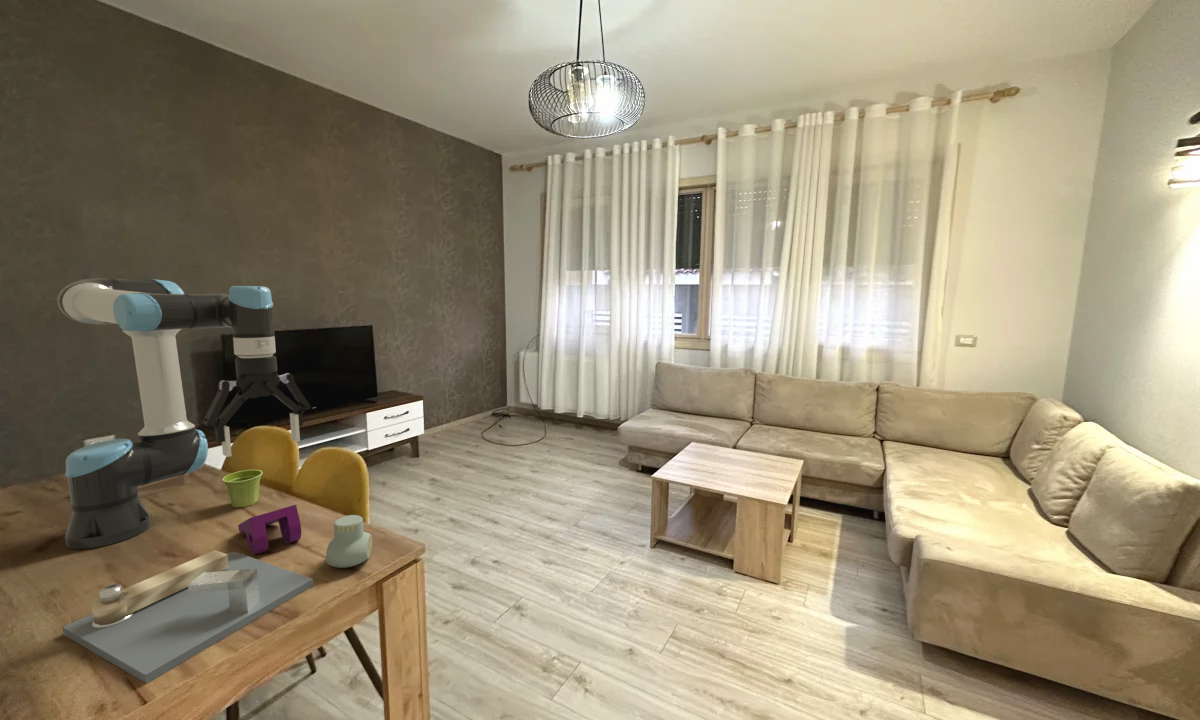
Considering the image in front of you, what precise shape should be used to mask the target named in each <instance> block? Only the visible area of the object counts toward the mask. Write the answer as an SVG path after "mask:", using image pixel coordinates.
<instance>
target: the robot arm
mask: <svg viewBox="0 0 1200 720" xmlns="http://www.w3.org/2000/svg"><path fill="white" fill-rule="evenodd" d="M272 299H273V298H272V292H271V289H270V288H269V287H267V286H263V285H262V286H261V285H259V286H257V285H255V286H254V285H232V286H231V287H229V291H228V293H200V294H199V293H185V292H184V291H183V289H182V288H181V287H180V286H179V285H178V284H177V283H176V282H173V281H170V280H162V279H155V278H150V279H147V278H146V279H145V278H139V279H138V278H105V277H104V278H103V277H102V278H101V277H97V278H87V279H81V280H77V281H74V282H72V283H70V284H68V285H66V286H64V288H61V290H60V292H58V295H57V306H58V308H59V310H60V311H61V313H62V314H63V315H64V316H66V317H67V318H69V319H70V320H73V321H76V322H79V323H82V324H88V325H89V324H91V325H104V326H105V325H109V326H110V325H116V326H117V325H118V326H119V327H120V328H121V330H122V333H124V334H126V335H128V336H129V337H130V338H131V342H132V348H133V355H134V361H135V368H136V376H137V381H138V382H137V383H138V389H139V396H140V403H141V409H142V415H143V423H144V427H143V428H142V429H141V430H140V431H139V432H138V433H137V435H138V437H137V438H138V441H135V442H134V441H131V439H129V438H115V439H109V440H103V441H99V442H95V443H91V444H89V445H86V446H83V447H80V448H78V449H75V450H74V451H73V452H71V453H70V454H69V455H67V457H66V459H65V473H64V474H65V477H66V479H67V485H68V493H69V499H70V505H71V516H70V519H69V521H68V525H67V528H66V532H65V534H64V541H65V546H66V548H69V549H74V550H83V549H84V550H85V549H93V548H100V547H104V546H109V545H112V544H116V543H120V542H123V541H126V540H129V539H131V538H133V537H136V536H138V535H139V534H140V535H141V534H142V533H143V532H145V531H146V530H148V529H149V528H150V527H151V526H152V522H151V515H150V513H149V512H148V511H147V509H146V508H145V506H144V504H143V503H142V501H141V500H140V498H138V492H137V487H139V486H142V485H146V484H150V483H154V482H157V481H161V480H165V479H169V478H173V477H176V476H183V475H185V474H187V473H188V474H190V473H193V472H196V471H198V470H200V469H201V468H202V467H203V466H204V464H205V463H206V461H207V457H208V454H209V453H208V452H209V445H208V439H207V438H206V435H205V433H204V432H203V431H202V430H200V429H197V428H196V426H195V425H196V424H194V423H192V422H190V421H188V419H187V410H186V406H185V405H186V403H185V396H184V389H183V382H182V377H181V376H182V375H181V368H180V362H179V360H180V359H179V353H178V346H177V338H176V335H177V334H178V333H179V332H180V331H181V330H189V329H190V330H194V329H218V328H220V329H221V328H231V330H232V341H233V354H234V355H235V356H237V357H235V359H234V362H235V363H234V364H235V365H234V366H235V375H236V377H235V380H225V379H221V380H219V381H218V386H217V387H218V388H217V392H216V394H215V396H214V398H213V401H212V402H211V404H210V407H209V408H208V410H207V413H206V415H205V417H204V419H203V420H202V424H203V425H205V426H207V427H213V428H214V433H215V440H216V441H217V442H218V443H221V446H222V447H221V448H222V455H223V456H225V457H226V458H229V457H232V455H233V454H232V447H231V446H232V445H231V443H232V442H231V434H230V426H228V425H227V423H228V422H229V421H230V420H231V419H232V417H233V416H234V414H236V412H237V411H238V410H239V409H240V407H241V406H242V405H243V404H244V403H245V402H246V401H247V400H248V399H249V398H250V399H256V398H259V397H269V396H270V395H272V396H274V397H275V398H276V399H278V400H279V401H280V402H281V403H282V404H284V405H285V406H286V407H288V408H289V409H290V410H291V411H292V412H291V413H290V412H289V423H290V435H291V436H290V438H291V440H292V441H294V442H297V443H298V442H301V434H300V427H303V424H304V421H303V420H304V419H303V415H304V414H305V411H307V410H311V408H312V407H311V404H310V403H309V402H308V400H307V399H306V397H305V395H304V394H303V392H302V391H301V390H300V388H299V387H298V385H297V384H296V381H295V378H294V377H295V376H294V374H292V373H289V372H284V373H283V374H281V375H279V374H278V362H277V356H275V355H274V354H276V352H277V351H276V349H277V348H276V338H275V337H276V336H275V322H274V321H275V320H274V319H275V318H274V302H273V300H272ZM280 382H281V383H283V384H285V386H286V388H287V389H288V390H289V392H290V394H292V396H293V397H294V400H295V401H296V402H297V403H298V404H297V403H295V402H294V401H293V400H292V399H290V398H289V397H288V396H286V394H284V392H283V391H281V389H279V388H278V387H277V386H278V385H279V383H280ZM234 387H236V388H237V389H238V392H236V394H235V395H234V397H233V398H232V400H231V401H230V402H229V403H228V405H227V406H226V407H225V408H224V410H222V409H223V406H224V404H225V402H226V400H227V397H228V396H229V393H230V392H231V391H232V390H233V388H234ZM221 411H222V412H221ZM220 412H221V413H220Z"/></svg>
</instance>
